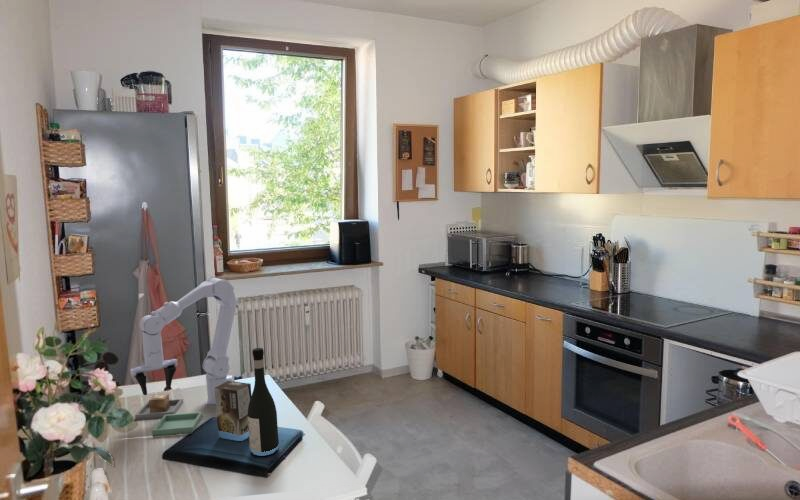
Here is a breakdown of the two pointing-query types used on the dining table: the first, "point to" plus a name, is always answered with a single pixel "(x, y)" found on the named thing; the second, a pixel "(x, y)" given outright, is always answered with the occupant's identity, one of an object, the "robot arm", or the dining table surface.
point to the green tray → (177, 424)
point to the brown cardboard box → (159, 403)
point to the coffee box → (232, 407)
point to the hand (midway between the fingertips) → (156, 391)
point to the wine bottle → (261, 410)
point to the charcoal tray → (145, 412)
